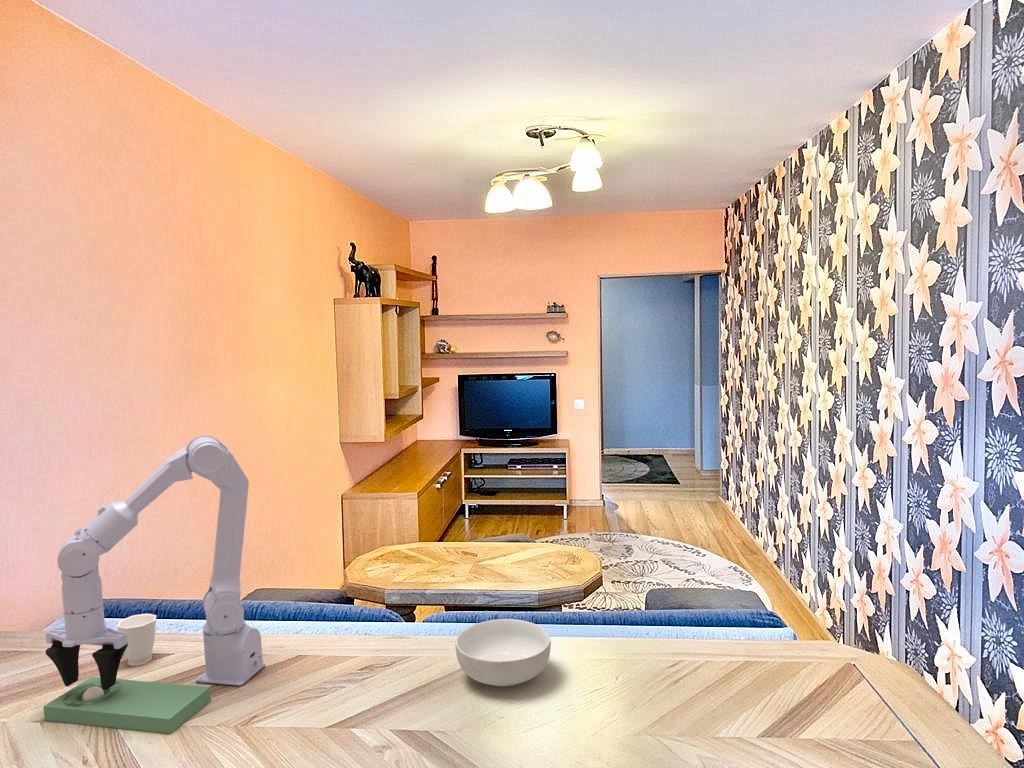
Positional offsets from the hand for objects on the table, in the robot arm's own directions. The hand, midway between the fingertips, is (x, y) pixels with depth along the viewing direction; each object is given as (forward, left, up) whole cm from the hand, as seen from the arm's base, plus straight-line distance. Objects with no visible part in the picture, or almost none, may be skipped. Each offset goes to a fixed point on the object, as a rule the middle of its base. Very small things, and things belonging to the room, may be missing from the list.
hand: (90, 685), depth 119 cm
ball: (0, 0, -2) cm, 2 cm away
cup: (+6, -17, -4) cm, 18 cm away
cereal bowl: (-67, -21, -4) cm, 71 cm away
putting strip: (-7, 0, -4) cm, 8 cm away
